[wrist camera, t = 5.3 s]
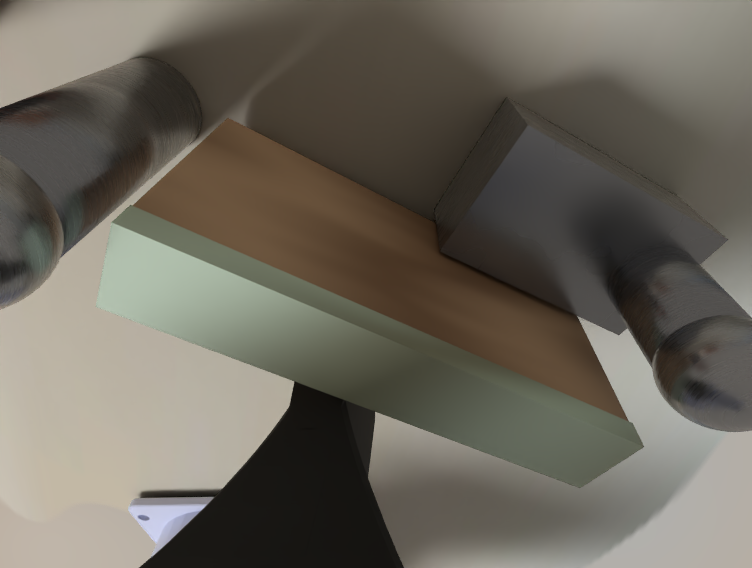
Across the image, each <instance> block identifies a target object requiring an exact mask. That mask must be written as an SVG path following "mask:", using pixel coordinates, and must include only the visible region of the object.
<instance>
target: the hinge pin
mask: <svg viewBox="0 0 752 568" xmlns="http://www.w3.org/2000/svg"><path fill="white" fill-rule="evenodd" d="M201 121H202V114H201V107H200V104H199V101H198V98H197V96H196V94H195V92H194V90H193V88H192V87H191V85H190V84H189V82H188V81H187V80H186V79H185V78H184V77H183V76H182V75H181V74H180V73H179V72H178V71H177V70H175V69H174V68H173V67H171V66H170V65H168V64H166V63H164V62H162V61H159V60H156V59H152V58H145V57H142V58H134V59H130V60H128V61H125V62H122V63H120V64H117V65H114V66H112V67H109V68H106V69H104V70H101V71H98V72H96V73H93V74H90V75H88V76H85V77H82V78H80V79H77V80H74V81H72V82H69V83H66V84H64V85H61V86H58V87H56V88H53V89H50V90H48V91H45V92H42V93H40V94H37V95H34V96H31V97H29V98H26V99H23V100H21V101H18V102H15V103H13V104H10V105H7V106H5V107H2V108H0V309H3V308H5V307H8V306H10V305H13V304H15V303H17V302H19V301H20V300H22V299H24V298H26V297H27V296H29V295H30V294H31V293H33V292H34V291H35V290H37V289H38V288H39V287H40V286H41V285H42V284H43V283H44V282H45V281H46V280H47V279H48V277H49V276H50V275H51V274H52V272H53V271H54V269H55V267H56V266H57V264H58V262H59V259H60V258H61V257H62V256H63V255H64V254H65V253H66V252H68V251H69V250H70V249H71V248H72V247H73V246H74V245H76V244H77V243H78V242H79V241H80V240H81V239H82V238H83V237H85V236H86V235H87V234H88V233H89V232H90V231H91V230H93V229H94V228H95V227H96V226H97V225H98V224H99V223H101V222H102V221H103V220H104V219H105V218H106V217H107V216H109V215H110V214H111V213H112V212H113V211H114V210H115V209H116V208H118V207H119V206H120V205H121V204H122V203H123V202H124V201H126V200H127V199H128V198H129V197H130V196H131V195H132V194H134V193H135V192H136V191H137V190H138V189H139V188H140V187H142V186H143V185H144V184H145V183H146V182H147V181H148V180H149V179H151V178H152V177H153V176H154V175H155V174H156V173H157V172H159V171H160V170H161V169H162V168H163V167H164V166H165V165H167V164H168V163H169V162H170V161H171V160H172V159H173V158H175V157H176V156H177V155H178V154H179V153H180V152H181V151H183V150H184V149H185V148H186V147H187V146H188V145H189V144H190V143H192V142H193V140H194V139H195V138H196V136H197V135H198V133H199V131H200V127H201Z"/></svg>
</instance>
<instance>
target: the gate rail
mask: <svg viewBox="0 0 752 568" xmlns="http://www.w3.org/2000/svg"><path fill="white" fill-rule="evenodd" d="M96 307H97V308H100V309H103V310H105V311H108V312H111V313H113V314H116V315H119V316H121V317H124V318H127V319H129V320H132V321H135V322H137V323H140V324H143V325H145V326H148V327H151V328H153V329H156V330H159V331H161V332H164V333H167V334H169V335H172V336H175V337H177V338H180V339H183V340H185V341H188V342H191V343H193V344H196V345H199V346H201V347H204V348H207V349H209V350H212V351H215V352H218V353H220V354H223V355H226V356H228V357H231V358H234V359H236V360H239V361H242V362H244V363H247V364H250V365H252V366H255V367H258V368H260V369H263V370H266V371H268V372H271V373H274V374H276V375H279V376H282V377H284V378H287V379H290V380H292V381H295V382H298V383H300V384H303V385H306V386H308V387H311V388H314V389H316V390H319V391H322V392H324V393H327V394H330V395H332V396H335V397H338V398H340V399H343V400H346V401H349V402H351V403H354V404H357V405H359V406H362V407H365V408H367V409H370V410H373V411H375V412H378V413H381V414H383V415H386V416H389V417H391V418H394V419H397V420H399V421H402V422H405V423H407V424H410V425H413V426H415V427H418V428H421V429H423V430H426V431H429V432H431V433H434V434H437V435H439V436H442V437H445V438H447V439H450V440H453V441H455V442H458V443H461V444H463V445H466V446H469V447H472V448H474V449H477V450H480V451H482V452H485V453H488V454H490V455H493V456H496V457H498V458H501V459H504V460H506V461H509V462H512V463H514V464H517V465H520V466H522V467H525V468H528V469H530V470H533V471H536V472H538V473H541V474H544V475H546V476H549V477H552V478H554V479H557V480H560V481H562V482H565V483H568V484H570V485H573V486H576V487H578V488H581V487H583V486H584V485H586V484H587V483H589V482H590V481H592V480H593V479H595V478H597V477H598V476H600V475H601V474H603V473H604V472H606V471H607V470H609V469H611V468H612V467H614V466H615V465H617V464H618V463H620V462H621V461H623V460H625V459H626V458H628V457H629V456H631V455H632V454H634V453H635V452H637V451H638V450H640V449H642V448H643V447H644V446H643V444H642V442H641V439H640V437H639V435H638V433H637V431H636V429H635V427H634V425H633V423H631V422H629V421H628V419H627V417H626V415H625V413H624V411H623V409H622V407H621V405H620V403H619V401H618V398H617V396H616V394H615V392H614V390H613V388H612V386H611V384H610V382H609V380H608V378H607V376H606V374H605V372H604V370H603V368H602V366H601V364H600V362H599V360H598V358H597V356H596V354H595V352H594V350H593V348H592V346H591V344H590V341H589V339H588V337H587V335H586V333H585V331H584V329H583V327H582V325H581V323H580V321H579V319H578V317H577V315H575V314H573V313H570V312H568V311H566V310H564V309H562V308H560V307H558V306H555V305H553V304H551V303H549V302H547V301H545V300H543V299H540V298H538V297H536V296H534V295H532V294H530V293H528V292H525V291H523V290H521V289H519V288H517V287H515V286H513V285H510V284H508V283H506V282H504V281H502V280H500V279H498V278H496V277H493V276H491V275H489V274H487V273H485V272H483V271H481V270H478V269H476V268H474V267H472V266H470V265H468V264H466V263H463V262H461V261H459V260H457V259H455V258H453V257H451V256H448V255H446V254H444V253H442V252H440V248H439V241H438V233H437V225H436V223H434V222H432V221H430V220H428V219H427V218H425V217H423V216H421V215H419V214H417V213H415V212H413V211H411V210H409V209H407V208H405V207H403V206H401V205H399V204H397V203H395V202H393V201H391V200H389V199H387V198H385V197H383V196H381V195H379V194H377V193H375V192H373V191H371V190H369V189H367V188H365V187H363V186H361V185H359V184H358V183H356V182H354V181H352V180H350V179H348V178H346V177H344V176H342V175H340V174H338V173H336V172H334V171H332V170H330V169H328V168H326V167H324V166H322V165H320V164H318V163H316V162H314V161H312V160H310V159H308V158H306V157H304V156H302V155H300V154H298V153H296V152H294V151H292V150H291V149H289V148H287V147H285V146H283V145H281V144H279V143H277V142H275V141H273V140H271V139H269V138H267V137H265V136H263V135H261V134H259V133H257V132H255V131H253V130H251V129H249V128H247V127H245V126H243V125H241V124H239V123H237V122H235V121H233V120H231V119H229V118H227V119H226V120H225V121H224V122H223V123H222V124H221V125H220V126H218V127H217V128H216V129H215V130H214V131H213V132H212V133H211V134H210V135H209V136H208V137H207V138H205V139H204V140H203V141H202V142H201V143H200V144H199V145H198V146H197V147H196V148H195V149H193V150H192V151H191V152H190V153H189V154H188V155H187V156H186V157H185V158H184V159H183V160H182V161H180V162H179V163H178V164H177V165H176V166H175V167H174V168H173V169H172V170H171V171H170V172H168V173H167V174H166V175H165V176H164V177H163V178H162V179H161V180H160V181H159V182H158V183H157V184H155V185H154V186H153V187H152V188H151V189H150V190H149V191H148V192H147V193H146V194H145V195H143V196H142V197H141V198H140V199H139V200H138V201H137V202H136V203H135V204H134V205H133V206H132V205H130V206H129V207H128V208H127V209H126V210H125V211H123V212H122V213H121V214H120V215H119V216H118V217H117V218H116V219H115V220H114V221H112V223H111V228H110V233H109V239H108V244H107V249H106V255H105V260H104V265H103V271H102V276H101V281H100V287H99V292H98V297H97V302H96Z"/></svg>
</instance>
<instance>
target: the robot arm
mask: <svg viewBox="0 0 752 568" xmlns="http://www.w3.org/2000/svg"><path fill="white" fill-rule="evenodd" d="M374 423H375V411H373V410H370V409H367V408H365V407H362V406H359V405H357V404H354V403H351V402H349V401H346V400H343V399H340V398H338V397H335V396H332V395H330V394H327V393H324V392H322V391H319V390H316V389H314V388H311V387H308V386H306V385H303V384H300V383H298V382H294V387H293V392H292V397H291V402H290V406H289V408H288V409H287V411H286V412H285V413H284V415H283V416H282V418H281V419H280V421H279V422H278V423H277V425H276V426H275V427H274V429H273V430H272V431H271V433H270V434H269V435H268V436H267V438H266V439H265V440H264V442H263V443H262V444H261V445H260V446H259V448H258V449H257V450H256V451H255V453H254V454H253V455H252V456H251V457H250V459H249V460H248V461H247V462H246V463H245V464H244V465H243V467H242V468H241V469H240V470H239V471H238V472H237V473H236V474H235V475H234V477H233V478H232V479H231V480H230V481H229V482H228V483H227V484H226V485H225V487H224V488H223V489H222V490H221V491H220V492H219V493H218V494H217V495H216V496H215V497H172V498H136V499H134V500H132V501H131V503H130V505H129V507H128V510H129V512H130V513H131V515H132V516H133V517H134V518H135V519H136V520H137V522H138V523H139V524H140V525H141V526H142V528H143V529H144V530H145V531H146V532H147V533H148V535H149V536H150V537H151V538H152V539H153V540H154V542H155V543H156V546H155V549H154V551H153V554H152V556H151V558H150V559H149V560H148V561H146V563H144V564H143V565H142V566H141V567H139V568H404V567H403V565H402V562H401V560H400V558H399V556H398V553H397V551H396V549H395V546H394V544H393V541H392V539H391V537H390V534H389V532H388V530H387V527H386V525H385V522H384V520H383V517H382V514H381V512H380V509H379V507H378V504H377V501H376V499H375V496H374V493H373V491H372V488H371V485H370V483H369V480H368V472H369V464H370V456H371V448H372V440H373V432H374Z"/></svg>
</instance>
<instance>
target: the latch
mask: <svg viewBox="0 0 752 568" xmlns="http://www.w3.org/2000/svg"><path fill="white" fill-rule="evenodd" d="M434 210H435V218H436V225H437V233H438V241H439V248H440V252H442V253H444V254H446V255H448V256H451V257H453V258H455V259H457V260H459V261H461V262H463V263H466V264H468V265H470V266H472V267H474V268H476V269H478V270H481V271H483V272H485V273H487V274H489V275H491V276H493V277H496V278H498V279H500V280H502V281H504V282H506V283H508V284H510V285H513V286H515V287H517V288H519V289H521V290H523V291H525V292H528V293H530V294H532V295H534V296H536V297H538V298H540V299H543V300H545V301H547V302H549V303H551V304H553V305H555V306H558V307H560V308H562V309H564V310H566V311H568V312H570V313H573V314H575V315H577V316H579V317H581V318H583V319H585V320H587V321H590V322H592V323H594V324H596V325H598V326H600V327H602V328H605V329H607V330H609V331H611V332H613V333H615V334H617V335H620V334H621V333H622V332H623V331H624V330H625V329H627V328H628V329H629V331H630V333H631V334H632V336H633V338H634V339H635V341H636V343H637V344H638V346H639V347H640V349H641V351H642V352H643V354H644V356H645V357H646V359H647V360H648V362H649V364H650V365H651V367H652V369H653V376H654V379H655V383H656V385H657V387H658V390H659V391H660V393H661V395H662V396H663V398H664V399H665V400H666V401H667V403H668V404H669V405H670V406H671V407H672V408H673V409H674V410H676V411H677V412H678V413H679V414H681V415H682V416H683V417H685V418H687V419H688V420H690V421H692V422H694V423H696V424H699V425H701V426H704V427H707V428H710V429H714V430H720V431H727V432H742V431H750V430H752V318H751V317H750V316H749V315H748V314H747V313H746V312H745V311H744V310H743V309H742V308H741V307H740V306H739V304H738V303H737V302H736V301H735V300H734V299H733V298H732V297H731V296H730V295H729V294H728V293H727V292H726V291H725V290H724V289H723V288H722V287H721V286H720V285H719V284H718V283H717V282H716V281H715V280H714V279H713V278H712V277H711V276H710V275H709V274H708V273H707V272H706V271H705V270H704V269H703V268H702V266H701V265H700V264H701V263H702V262H703V261H704V260H705V259H707V258H708V257H709V256H710V255H711V254H712V253H713V252H715V251H716V250H717V249H718V248H719V247H720V246H721V245H723V244H724V243H725V242H726V241H727V240H728V239H727V238H725V237H724V236H723V235H722V234H721V233H720V232H718V231H717V230H716V229H715V228H714V227H713V226H711V225H710V224H709V223H708V222H707V221H706V220H705V219H703V218H702V217H701V216H700V215H699V214H698V213H696V212H695V211H694V210H693V209H692V208H691V207H689V206H688V205H687V204H686V203H685V202H684V201H682V200H681V199H680V198H679V197H677V196H676V195H674V194H672V193H670V192H669V191H667V190H665V189H664V188H662V187H660V186H658V185H657V184H655V183H653V182H652V181H650V180H648V179H646V178H645V177H643V176H641V175H640V174H638V173H636V172H634V171H633V170H631V169H629V168H628V167H626V166H624V165H622V164H621V163H619V162H617V161H616V160H614V159H612V158H610V157H609V156H607V155H605V154H604V153H602V152H600V151H598V150H597V149H595V148H593V147H592V146H590V145H588V144H586V143H585V142H583V141H581V140H580V139H578V138H576V137H574V136H573V135H571V134H569V133H568V132H566V131H564V130H562V129H561V128H559V127H557V126H556V125H554V124H552V123H550V122H549V121H547V120H545V119H544V118H542V117H540V116H538V115H537V114H535V113H533V112H532V111H530V110H528V109H526V108H525V107H523V106H521V105H520V104H518V103H516V102H514V101H513V100H511V99H509V98H508V97H507V98H506V99H505V101H504V102H503V104H502V105H501V107H500V108H499V110H498V112H497V113H496V115H495V116H494V118H493V119H492V121H491V122H490V124H489V125H488V127H487V129H486V130H485V132H484V133H483V135H482V136H481V138H480V139H479V141H478V142H477V144H476V146H475V147H474V149H473V150H472V152H471V153H470V155H469V156H468V158H467V160H466V161H465V163H464V164H463V166H462V167H461V169H460V170H459V172H458V173H457V175H456V177H455V178H454V180H453V181H452V183H451V184H450V186H449V187H448V189H447V191H446V192H445V194H444V195H443V197H442V198H441V200H440V201H439V203H438V204H437V206H436V208H435V209H434Z"/></svg>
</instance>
